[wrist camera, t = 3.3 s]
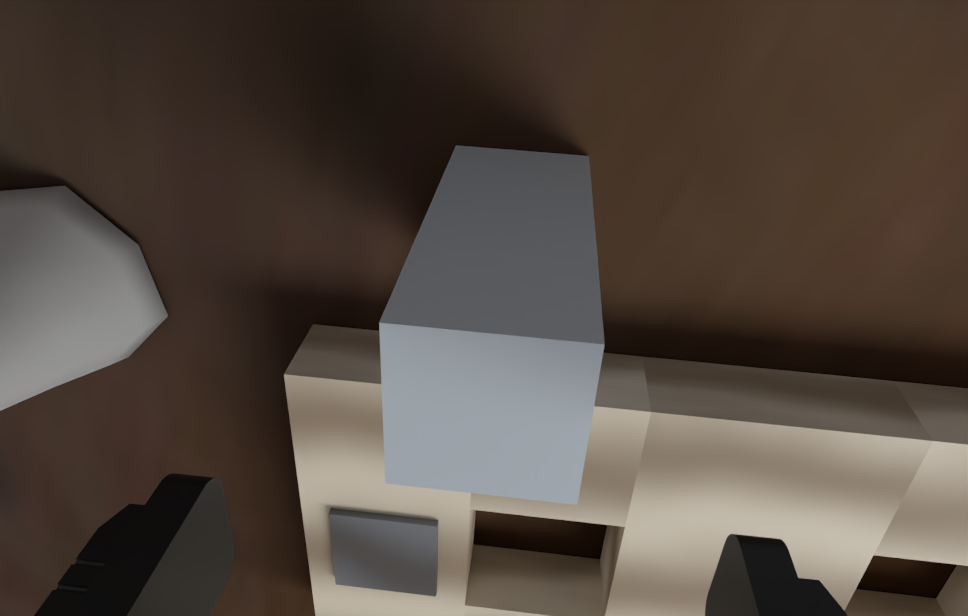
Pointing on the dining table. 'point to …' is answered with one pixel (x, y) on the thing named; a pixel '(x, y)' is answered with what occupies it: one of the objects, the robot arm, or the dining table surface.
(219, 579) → the robot arm
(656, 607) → the socket block
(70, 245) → the flask
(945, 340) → the dining table surface
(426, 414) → the plug
